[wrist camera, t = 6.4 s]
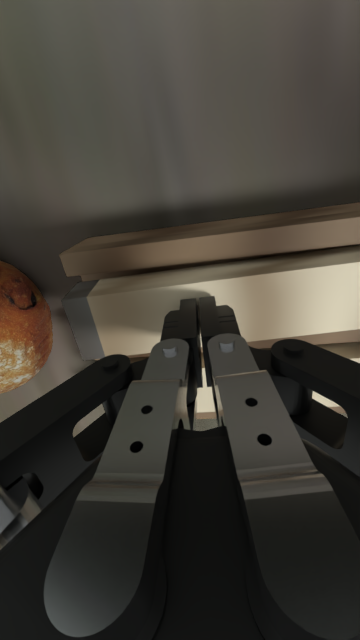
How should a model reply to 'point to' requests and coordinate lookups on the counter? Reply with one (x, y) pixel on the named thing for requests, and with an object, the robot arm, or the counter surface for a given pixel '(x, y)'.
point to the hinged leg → (220, 300)
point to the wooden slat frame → (222, 247)
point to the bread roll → (22, 328)
